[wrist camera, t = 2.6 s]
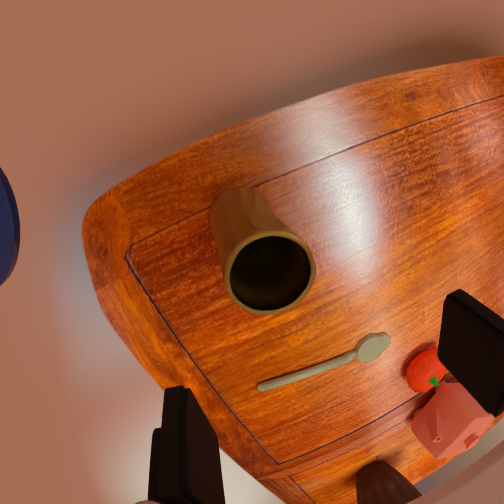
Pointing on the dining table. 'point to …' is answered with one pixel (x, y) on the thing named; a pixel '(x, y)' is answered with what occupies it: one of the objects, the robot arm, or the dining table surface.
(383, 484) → the flower pot
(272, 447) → the dining table surface
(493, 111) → the dining table surface
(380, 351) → the spoon
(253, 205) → the vase
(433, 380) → the pumpkin
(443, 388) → the teapot
